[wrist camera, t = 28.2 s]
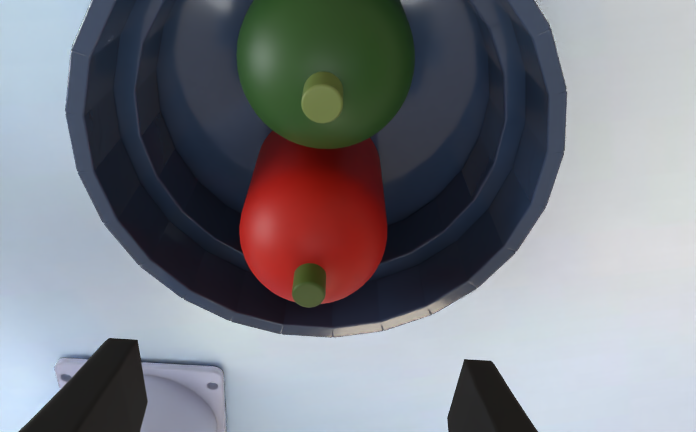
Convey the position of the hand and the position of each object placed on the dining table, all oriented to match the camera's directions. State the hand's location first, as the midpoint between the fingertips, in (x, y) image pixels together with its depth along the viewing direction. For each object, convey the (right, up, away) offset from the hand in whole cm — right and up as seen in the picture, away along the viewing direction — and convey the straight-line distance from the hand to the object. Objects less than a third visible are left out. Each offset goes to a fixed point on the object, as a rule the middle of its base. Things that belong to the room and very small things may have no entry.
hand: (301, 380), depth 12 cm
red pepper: (0, +5, +8) cm, 10 cm away
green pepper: (+1, +10, +5) cm, 11 cm away
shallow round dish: (0, +8, +7) cm, 11 cm away
